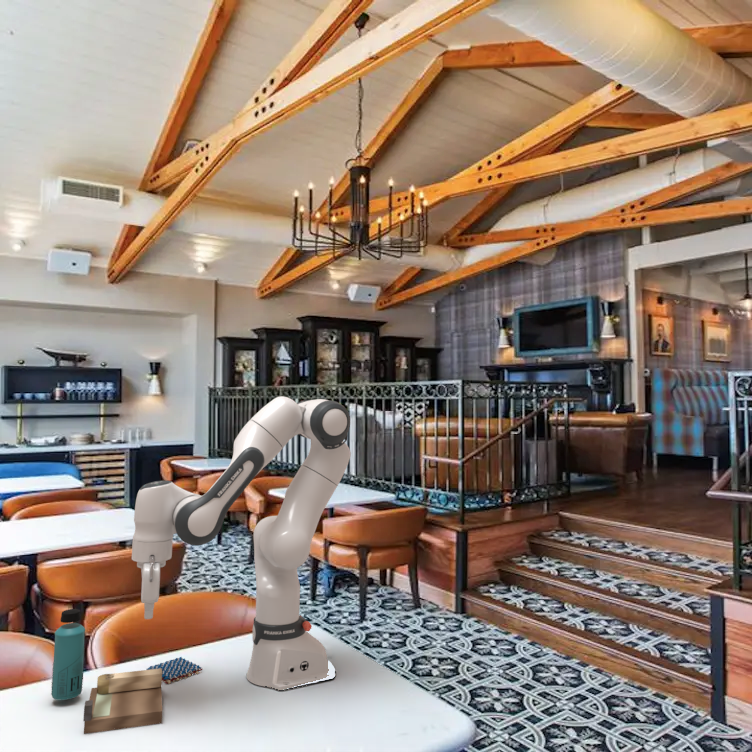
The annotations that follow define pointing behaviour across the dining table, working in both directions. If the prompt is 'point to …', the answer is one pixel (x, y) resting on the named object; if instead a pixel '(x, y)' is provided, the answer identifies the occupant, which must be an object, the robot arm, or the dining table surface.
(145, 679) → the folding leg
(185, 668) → the woven mat
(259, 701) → the dining table surface
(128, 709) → the brown wooden box
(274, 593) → the robot arm
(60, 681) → the beverage bottle
